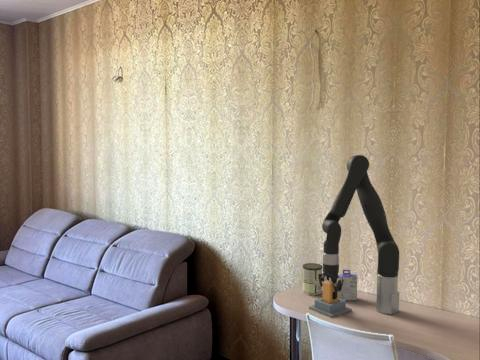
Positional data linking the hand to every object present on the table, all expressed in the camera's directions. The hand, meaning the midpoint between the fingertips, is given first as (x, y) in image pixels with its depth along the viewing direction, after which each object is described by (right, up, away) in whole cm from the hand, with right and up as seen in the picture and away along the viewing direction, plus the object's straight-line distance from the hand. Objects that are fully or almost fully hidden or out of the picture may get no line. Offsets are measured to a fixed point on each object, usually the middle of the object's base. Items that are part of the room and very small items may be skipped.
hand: (330, 297), depth 216 cm
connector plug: (0, -3, 0) cm, 3 cm away
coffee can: (-5, -4, +26) cm, 27 cm away
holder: (0, -6, 0) cm, 6 cm away
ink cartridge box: (+11, -5, +15) cm, 20 cm away
